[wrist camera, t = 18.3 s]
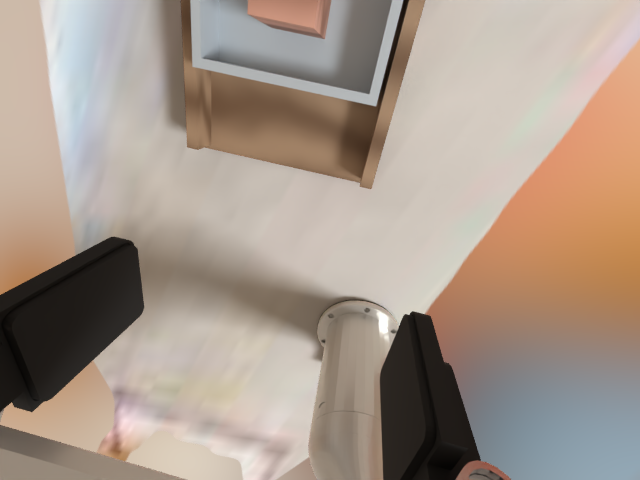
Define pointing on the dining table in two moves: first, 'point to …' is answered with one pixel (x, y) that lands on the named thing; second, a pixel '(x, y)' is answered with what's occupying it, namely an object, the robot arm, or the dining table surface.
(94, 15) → the dining table surface
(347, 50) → the grey tray
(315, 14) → the block
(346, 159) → the bay
